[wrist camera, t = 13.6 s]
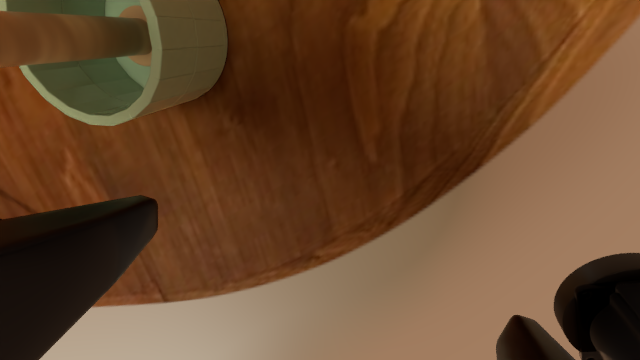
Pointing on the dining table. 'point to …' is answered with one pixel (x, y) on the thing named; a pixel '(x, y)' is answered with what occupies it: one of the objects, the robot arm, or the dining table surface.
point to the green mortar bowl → (124, 74)
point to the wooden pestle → (73, 37)
